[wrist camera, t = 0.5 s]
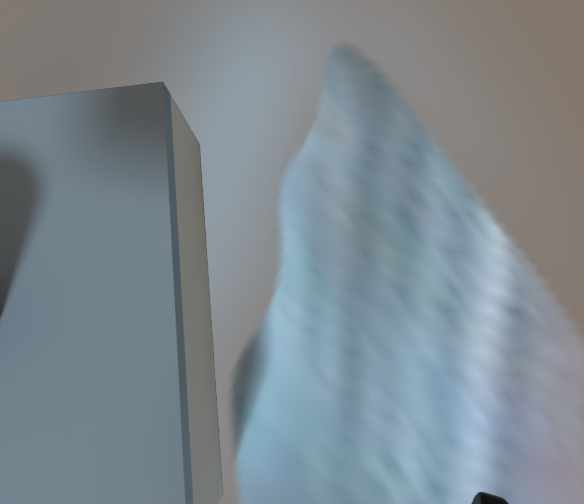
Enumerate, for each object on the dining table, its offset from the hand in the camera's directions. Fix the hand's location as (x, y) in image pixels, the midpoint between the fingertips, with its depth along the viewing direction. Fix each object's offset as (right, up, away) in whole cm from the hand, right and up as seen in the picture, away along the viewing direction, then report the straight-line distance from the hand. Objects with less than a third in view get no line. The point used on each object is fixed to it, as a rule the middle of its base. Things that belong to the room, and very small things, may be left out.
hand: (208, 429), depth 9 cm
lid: (-11, 0, +12) cm, 16 cm away
